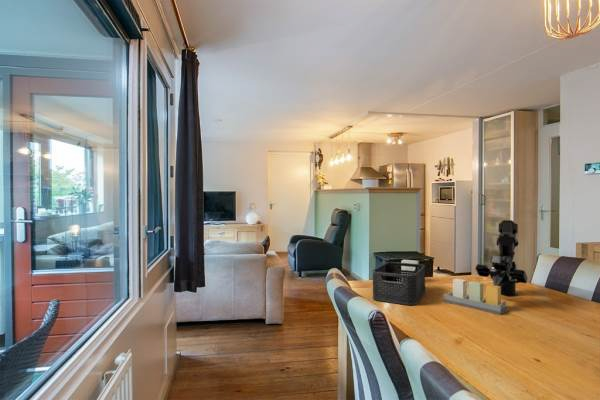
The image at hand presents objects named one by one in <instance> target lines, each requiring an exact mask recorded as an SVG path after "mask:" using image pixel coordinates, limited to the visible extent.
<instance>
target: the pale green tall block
mask: <svg viewBox="0 0 600 400" xmlns="http://www.w3.org/2000/svg"><path fill="white" fill-rule="evenodd" d="M468 295H469V300H474V301H481V300H483V299H484V282H480V281H479V282H478V281H474V280H473V281H472V280H471V281H469V282H468Z"/></svg>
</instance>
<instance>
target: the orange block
mask: <svg viewBox="0 0 600 400" xmlns="http://www.w3.org/2000/svg"><path fill="white" fill-rule="evenodd" d="M485 298H486V303H488V304H492V305H497V306H498V305H499V304H501V303H502V299H501V298H502V294H501V286H495V285H493V284H487V285H485Z"/></svg>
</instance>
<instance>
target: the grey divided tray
mask: <svg viewBox="0 0 600 400" xmlns="http://www.w3.org/2000/svg"><path fill="white" fill-rule="evenodd" d="M443 302H444V303H448V304H453V305H457V306H459V307H460V306H461V307H464V308H465V307H466V308H469V309H473V310H477V311H483V312H486V313H490V314H495V315H499V316H501V315H503V314H504V313H506V312H507V311H508V310H509V307H507V301H503V302H501V304H499V305H498V306H497V305H492V304H488V303H486V297H485V298H483V300H481V301H474V300H469V294H467V296H465V297H463V298H460V297H455V296H453V291H451V292H449V293H446V294H445V293H444V294H443Z"/></svg>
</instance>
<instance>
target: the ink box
mask: <svg viewBox="0 0 600 400" xmlns="http://www.w3.org/2000/svg"><path fill="white" fill-rule="evenodd" d="M419 262H420V261H419V260H411V259H402V260H401V261H400V263H410V264H420V263H419ZM400 267H401V269H400V270H408V271H415V268H416V267H408V266H400ZM402 273H403V272H402ZM404 273H406V272H404ZM402 275H403V274H402ZM404 275H405V274H404ZM402 279H403V278H402Z"/></svg>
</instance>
